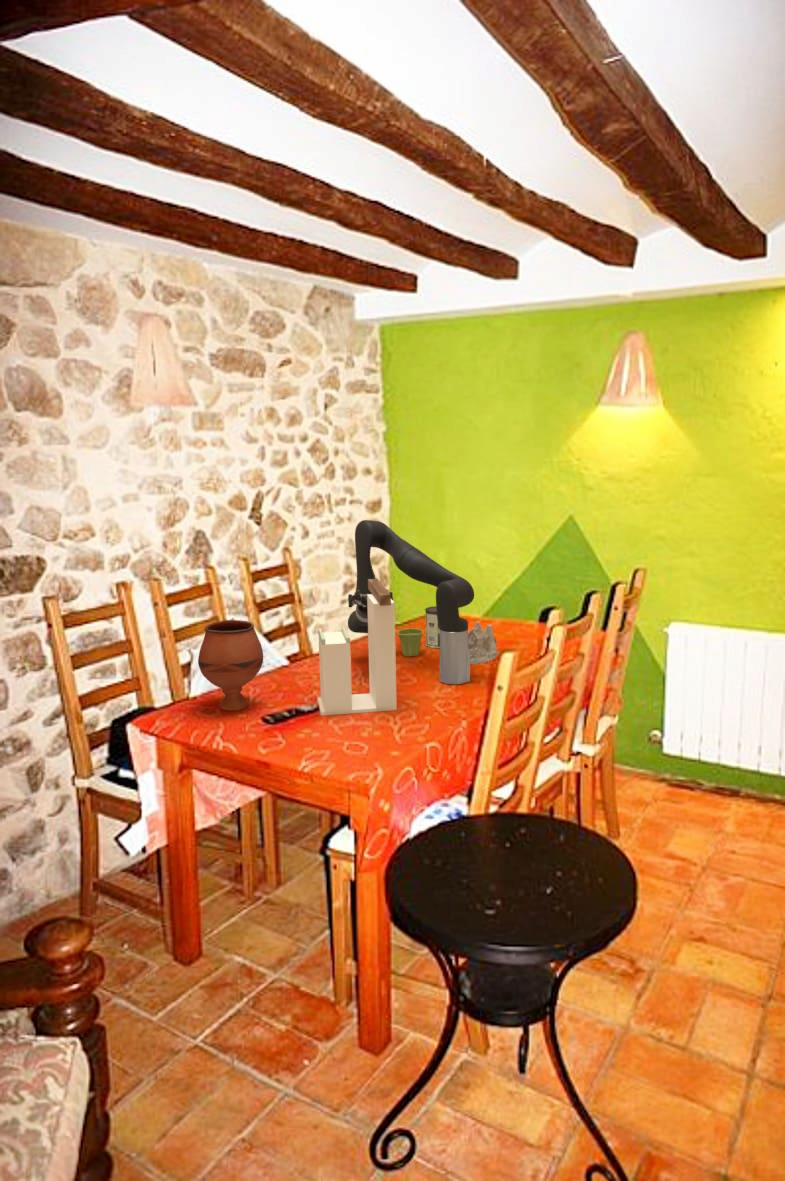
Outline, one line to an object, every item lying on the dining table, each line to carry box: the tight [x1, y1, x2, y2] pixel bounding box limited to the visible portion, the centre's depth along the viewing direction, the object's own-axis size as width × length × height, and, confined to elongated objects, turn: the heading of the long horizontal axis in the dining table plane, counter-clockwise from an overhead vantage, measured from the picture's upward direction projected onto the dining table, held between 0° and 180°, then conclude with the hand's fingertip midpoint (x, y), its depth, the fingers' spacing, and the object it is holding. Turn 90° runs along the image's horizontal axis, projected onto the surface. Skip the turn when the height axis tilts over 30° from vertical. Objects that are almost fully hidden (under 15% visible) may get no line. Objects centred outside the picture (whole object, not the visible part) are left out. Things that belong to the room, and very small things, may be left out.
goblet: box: [197, 619, 264, 712], centre depth 238 cm, size 19×19×25 cm
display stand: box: [317, 594, 397, 716], centre depth 236 cm, size 22×14×32 cm, turn 99°
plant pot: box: [396, 628, 424, 657], centre depth 292 cm, size 9×9×9 cm
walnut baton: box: [368, 578, 391, 606], centre depth 237 cm, size 3×26×3 cm, turn 9°
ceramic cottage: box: [468, 621, 500, 665], centre depth 286 cm, size 16×16×15 cm
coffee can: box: [424, 605, 440, 649], centre depth 304 cm, size 10×10×14 cm
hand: (372, 592), depth 252 cm, fingers open, 8 cm apart
